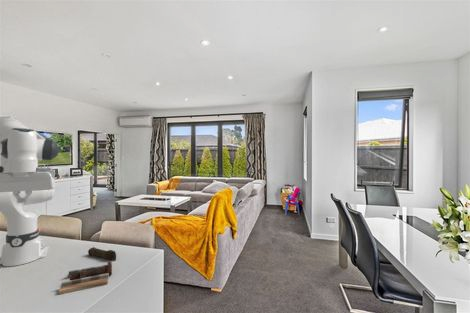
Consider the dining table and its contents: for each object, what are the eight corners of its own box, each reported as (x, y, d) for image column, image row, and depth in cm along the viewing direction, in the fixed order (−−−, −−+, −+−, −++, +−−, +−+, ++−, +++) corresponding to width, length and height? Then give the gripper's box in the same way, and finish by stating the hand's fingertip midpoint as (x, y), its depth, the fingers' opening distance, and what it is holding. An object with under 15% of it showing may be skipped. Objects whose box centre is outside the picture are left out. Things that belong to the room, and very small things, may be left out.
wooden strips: (71, 273, 97) (71, 267, 97) (112, 266, 103) (112, 260, 103) (58, 294, 82) (58, 287, 82) (107, 284, 88) (107, 278, 88)
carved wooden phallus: (87, 256, 115) (87, 247, 115) (95, 253, 118) (95, 244, 118) (110, 263, 107) (110, 254, 107) (118, 260, 110) (118, 251, 110)
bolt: (70, 286, 90) (112, 275, 97) (68, 286, 86) (111, 274, 93) (71, 271, 92) (111, 262, 100) (69, 270, 88) (111, 260, 96)
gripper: (57, 167, 94) (57, 199, 93) (-7, 168, 85) (-7, 203, 85) (52, 167, 88) (52, 201, 88) (-17, 168, 80) (-18, 206, 79)
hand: (22, 202), depth 86 cm, fingers closed
